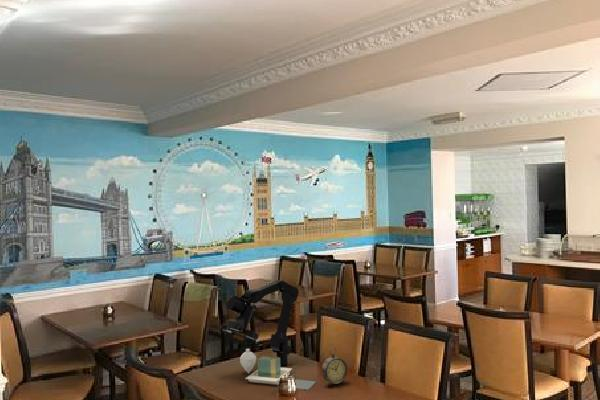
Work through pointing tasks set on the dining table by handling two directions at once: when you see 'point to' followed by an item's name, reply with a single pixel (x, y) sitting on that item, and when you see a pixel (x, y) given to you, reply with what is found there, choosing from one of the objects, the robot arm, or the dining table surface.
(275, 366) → the tea tin
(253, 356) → the spinning top
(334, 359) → the alarm clock
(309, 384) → the mat
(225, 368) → the dining table surface
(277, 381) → the white rectangular tray
